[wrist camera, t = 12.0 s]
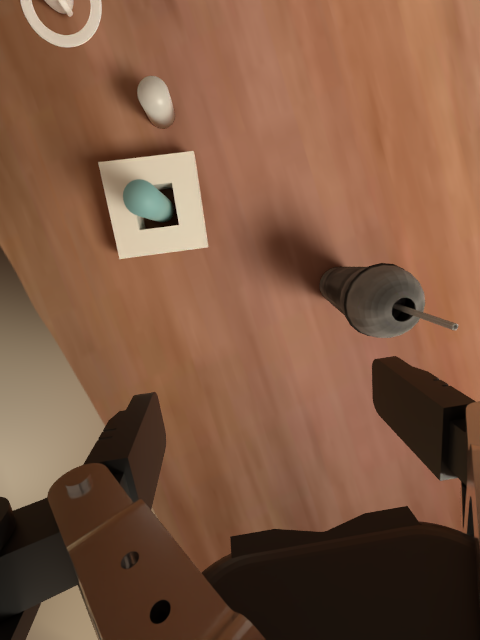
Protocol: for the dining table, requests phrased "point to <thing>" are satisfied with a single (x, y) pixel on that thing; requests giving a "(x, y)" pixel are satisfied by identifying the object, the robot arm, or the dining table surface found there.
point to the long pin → (147, 201)
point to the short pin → (156, 101)
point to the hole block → (162, 175)
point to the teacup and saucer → (63, 4)
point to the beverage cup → (378, 299)
